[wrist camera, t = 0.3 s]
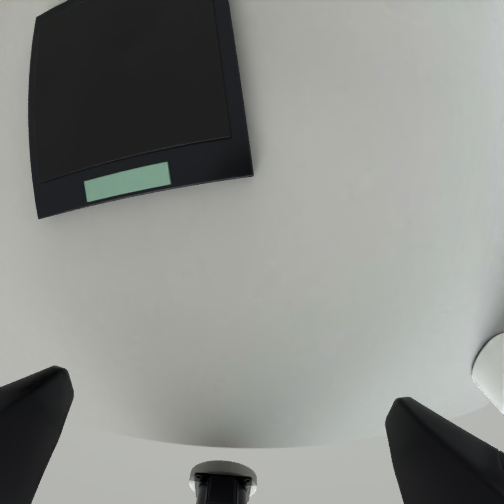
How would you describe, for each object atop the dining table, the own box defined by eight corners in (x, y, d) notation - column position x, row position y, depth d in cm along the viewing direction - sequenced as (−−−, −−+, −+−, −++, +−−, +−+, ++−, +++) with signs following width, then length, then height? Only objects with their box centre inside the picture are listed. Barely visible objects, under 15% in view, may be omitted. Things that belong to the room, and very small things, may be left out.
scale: (253, 176, 19) (254, 176, 17) (46, 217, 19) (34, 220, 18) (221, -38, 15) (220, -49, 13) (42, 21, 15) (33, 15, 13)
